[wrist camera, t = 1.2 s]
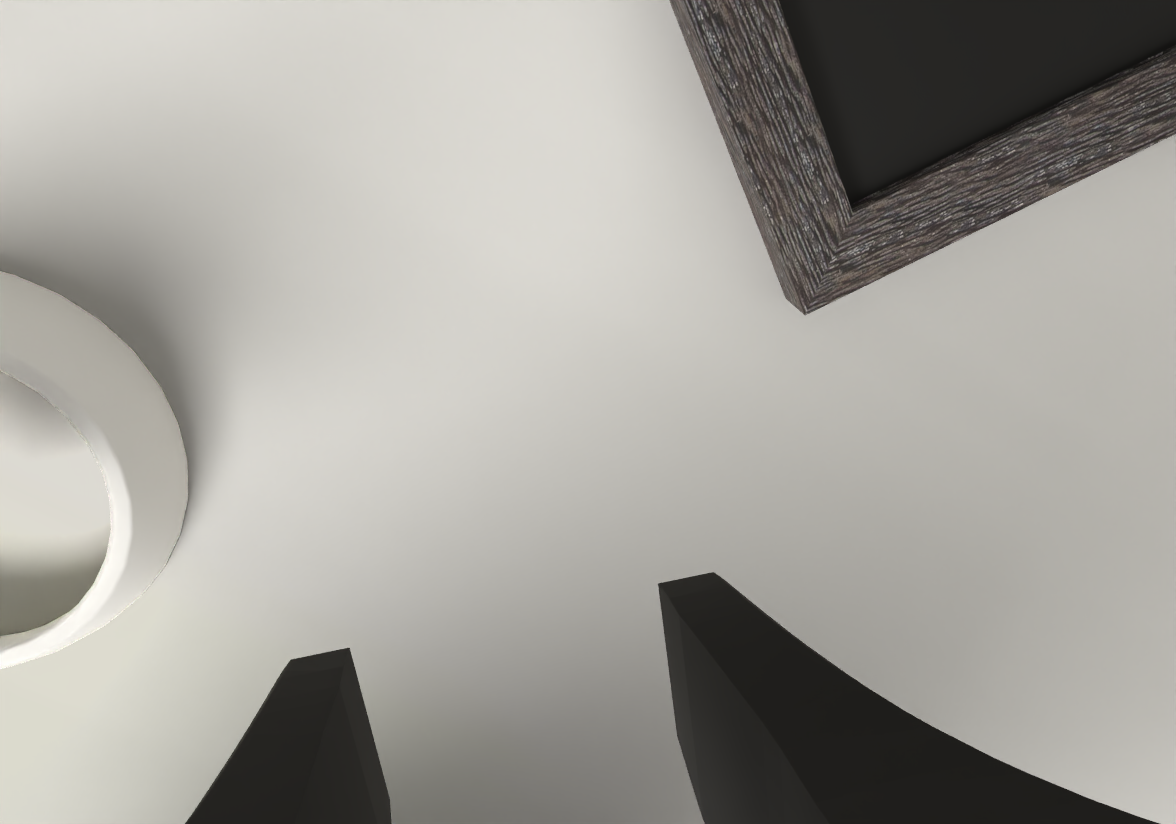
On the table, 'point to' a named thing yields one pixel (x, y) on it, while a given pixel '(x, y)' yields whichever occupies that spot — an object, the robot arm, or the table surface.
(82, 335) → the hook
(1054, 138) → the picture frame
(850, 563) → the table surface
